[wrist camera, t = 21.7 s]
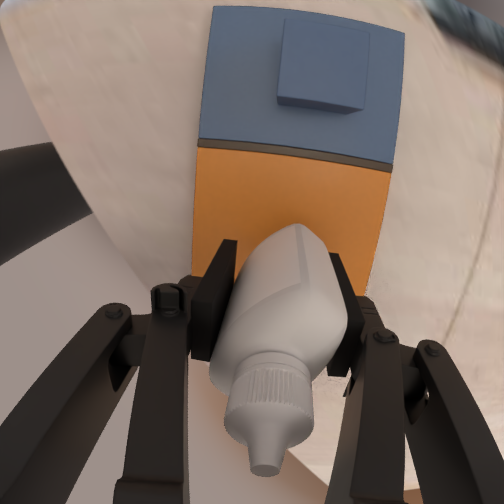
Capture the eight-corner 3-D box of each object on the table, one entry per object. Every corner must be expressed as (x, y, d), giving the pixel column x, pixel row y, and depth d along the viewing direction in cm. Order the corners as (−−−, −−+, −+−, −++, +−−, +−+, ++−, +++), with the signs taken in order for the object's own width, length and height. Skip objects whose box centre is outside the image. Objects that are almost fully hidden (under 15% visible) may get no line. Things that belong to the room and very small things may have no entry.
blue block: (277, 104, 18) (276, 96, 14) (284, 40, 17) (284, 17, 13) (347, 114, 18) (364, 110, 14) (353, 51, 16) (370, 32, 12)
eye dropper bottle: (215, 247, 17) (120, 427, 6) (315, 214, 16) (373, 389, 5) (245, 313, 19) (203, 504, 7) (337, 285, 17) (387, 481, 6)
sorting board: (193, 276, 24) (190, 280, 23) (215, 8, 17) (213, 5, 16) (360, 297, 23) (362, 301, 23) (402, 35, 16) (405, 32, 15)
